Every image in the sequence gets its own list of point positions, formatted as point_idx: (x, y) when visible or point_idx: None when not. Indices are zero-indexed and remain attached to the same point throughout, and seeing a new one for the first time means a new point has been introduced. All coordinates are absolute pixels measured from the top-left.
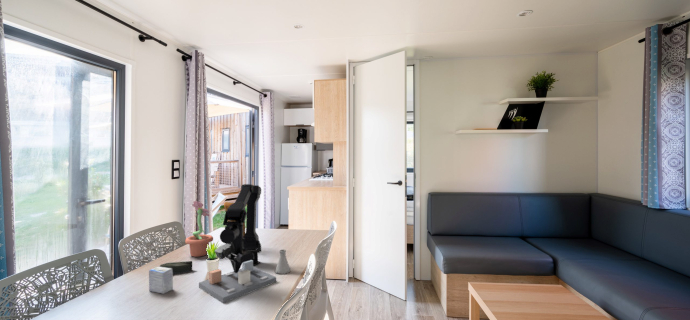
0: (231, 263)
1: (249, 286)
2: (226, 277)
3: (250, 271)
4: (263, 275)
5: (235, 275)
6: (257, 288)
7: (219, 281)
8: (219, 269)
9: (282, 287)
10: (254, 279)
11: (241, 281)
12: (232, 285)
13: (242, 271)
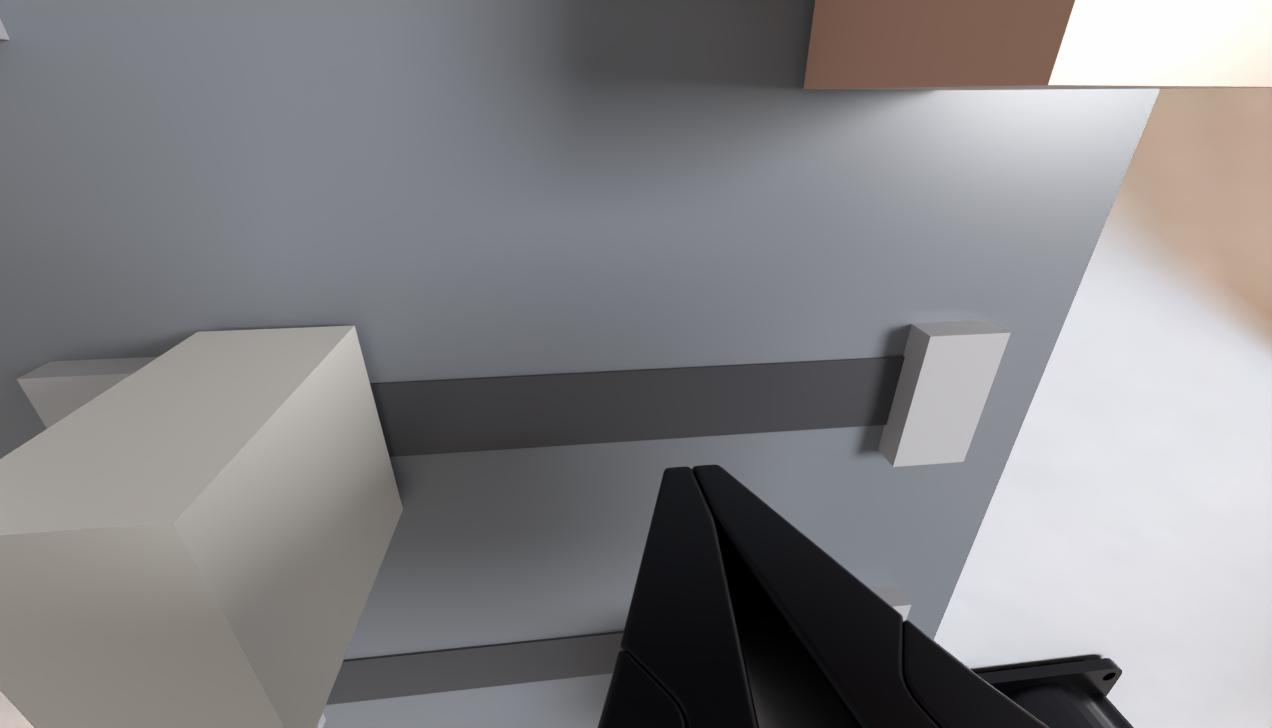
0: (984, 688)
1: (23, 416)
2: (887, 296)
3: None
4: (426, 718)
5: (807, 456)
6: None
7: (815, 21)
8: (1235, 75)
9: (8, 712)
10: None
11: (136, 372)
12: (333, 167)
13: (172, 640)
